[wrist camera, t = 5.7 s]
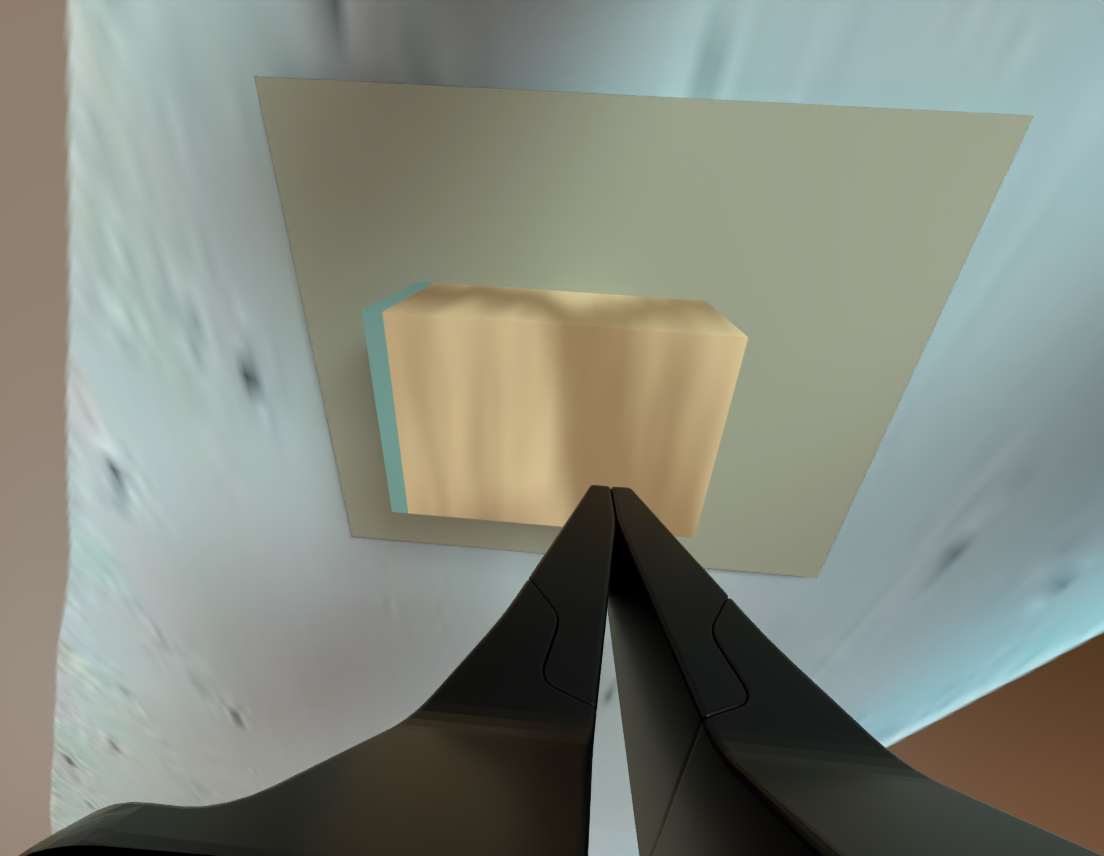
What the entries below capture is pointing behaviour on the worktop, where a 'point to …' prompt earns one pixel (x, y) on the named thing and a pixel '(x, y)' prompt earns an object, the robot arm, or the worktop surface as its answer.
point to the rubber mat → (645, 264)
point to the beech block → (548, 400)
